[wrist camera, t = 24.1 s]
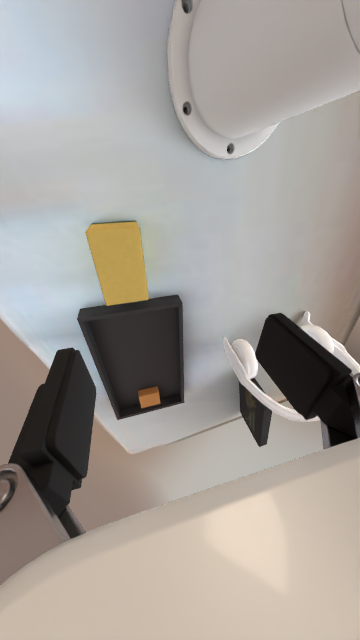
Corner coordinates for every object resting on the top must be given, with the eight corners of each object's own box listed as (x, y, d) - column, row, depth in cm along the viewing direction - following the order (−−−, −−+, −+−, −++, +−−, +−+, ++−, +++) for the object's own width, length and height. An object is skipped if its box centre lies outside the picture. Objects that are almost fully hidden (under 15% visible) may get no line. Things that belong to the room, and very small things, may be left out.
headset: (217, 355, 40) (271, 447, 26) (219, 328, 36) (285, 420, 22) (298, 336, 44) (384, 407, 30) (309, 309, 40) (415, 378, 26)
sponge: (91, 223, 22) (85, 231, 18) (135, 220, 23) (139, 227, 19) (107, 288, 26) (106, 306, 22) (144, 283, 27) (149, 299, 23)
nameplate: (246, 409, 58) (266, 445, 50) (240, 412, 57) (259, 448, 50) (245, 366, 45) (273, 404, 37) (238, 368, 45) (264, 407, 37)
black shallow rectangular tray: (79, 308, 27) (76, 318, 25) (178, 294, 30) (182, 302, 28) (117, 408, 41) (117, 420, 39) (181, 392, 44) (184, 402, 42)
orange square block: (138, 390, 39) (138, 397, 38) (157, 385, 40) (158, 392, 38) (140, 401, 41) (141, 408, 40) (159, 397, 42) (160, 403, 41)
